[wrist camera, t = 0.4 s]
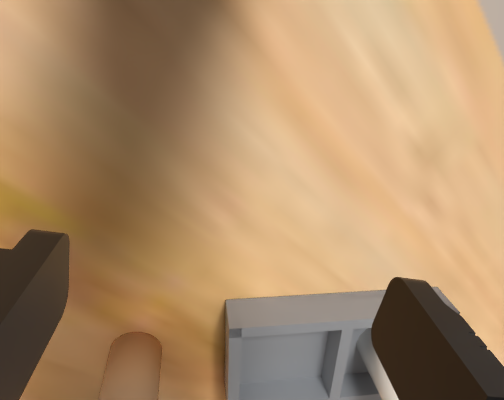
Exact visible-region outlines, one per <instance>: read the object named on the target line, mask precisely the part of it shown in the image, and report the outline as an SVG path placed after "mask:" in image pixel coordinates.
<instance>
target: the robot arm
mask: <svg viewBox="0 0 504 400" xmlns="http://www.w3.org/2000/svg"><path fill="white" fill-rule="evenodd" d="M68 285H69V236H68V235H67V234H64V233H56V232H48V231H41V230H33V229H32V230H30V231H28V232H27V233H26V235H25V236H24V237H23V238H22V239H21V240H20V241H19V242H18V244H17V245H16V246H15V247H14V248H13V249H12V250H10V249H1V248H0V400H19V399H20V397H21V395H22V393H23V391H24V389H25V387H26V385H27V383H28V381H29V379H30V377H31V375H32V373H33V372H34V370H35V368H36V366H37V364H38V362H39V360H40V358H41V356H42V354H43V352H44V350H45V348H46V346H47V344H48V342H49V340H50V338H51V337H52V335H53V333H54V331H55V329H56V327H57V325H58V323H59V321H60V319H61V317H62V315H63V312H64V309H65V306H66V302H67V297H68ZM371 340H372V345H373V348H374V350H375V352H376V354H377V356H378V358H379V360H380V362H381V364H382V366H383V368H384V370H385V372H386V374H387V376H388V378H389V381H390V383H391V385H392V387H393V389H394V391H395V393H396V395H397V397H398V399H399V400H504V366H503V365H502V364H501V363H500V362H499V360H498V359H497V358H496V357H495V356H494V354H493V353H492V352H491V351H490V350H487V346H486V345H485V344H484V343H483V341H482V340H481V339H480V338H479V337H478V336H475V332H474V331H473V329H472V328H471V327H470V326H469V325H468V323H467V322H466V321H465V320H464V319H463V318H462V316H460V315H459V314H458V313H456V312H455V311H454V310H453V309H451V308H450V307H449V306H447V305H446V304H445V303H444V302H443V301H442V299H441V298H440V297H439V296H438V295H437V293H436V292H435V291H434V290H433V288H432V287H431V286H430V285H429V284H428V283H427V282H426V281H423V280H416V279H408V278H400V277H395V278H393V279H392V280H391V281H390V283H389V285H388V287H387V290H386V292H385V295H384V297H383V299H382V302H381V304H380V307H379V309H378V311H377V314H376V316H375V318H374V321H373V324H372V328H371Z"/></svg>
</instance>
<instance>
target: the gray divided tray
mask: <svg viewBox="0 0 504 400" xmlns="http://www.w3.org/2000/svg"><path fill="white" fill-rule="evenodd" d="M432 288H433V290H434V291H435V292H436V293H437V295H438V296H439V297H440V298H441V299H442V301H443V302H444V303H445V304H446V305H447V306H449V307H450V308H451V309H453V310H454V311H455V312H456V313H458V314H460V312H459V311H458V310H457V309H456V308H455V306H454V305H453V304H452V303H451V302H450V301H449V300H448V299H447V297H446V296H445V295H444V294H443V293H442V292H441V291H440V290H439V288H438V287H432ZM385 292H386V290H378V291H362V292H345V293H329V294H312V295H296V296H279V297H263V298H246V299H230V300H226V317H225V394H226V400H382V399H381V396H380V394H379V392H378V390H377V388H376V386H375V384H374V382H373V380H372V378H371V376H370V374H369V372H368V370H367V368H366V366H365V364H364V362H363V360H362V358H361V356H360V353H359V351H358V349H357V340H358V338H359V336H360V335H361V334H362V332H363V331H365V330H366V329H367V328H372V324H373V321H374V318H375V316H376V314H377V311H378V309H379V307H380V304H381V302H382V299H383V297H384V295H385Z"/></svg>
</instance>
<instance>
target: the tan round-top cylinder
mask: <svg viewBox="0 0 504 400" xmlns="http://www.w3.org/2000/svg"><path fill="white" fill-rule="evenodd" d="M161 356H162V346H161V344H160V342H159V341H158V340H157V339H156V338H155V337H154V336H152V335H150V334H147V333H143V332H131V333H127V334H124V335H121V336H120V337H118V338H117V339H116V340H115V341H114V342H113V343H112V345H111V348H110V353H109V357H108V361H107V365H106V370H105V374H104V378H103V382H102V386H101V391H100V395H99V399H98V400H158V392H159V380H160V368H161Z"/></svg>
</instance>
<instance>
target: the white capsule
mask: <svg viewBox="0 0 504 400" xmlns="http://www.w3.org/2000/svg"><path fill="white" fill-rule="evenodd" d="M357 349H358V351H359V353H360V356H361V358H362V360H363V362H364V364H365V366H366V368H367V370H368V372H369V374H370V376H371V378H372V380H373V382H374V384H375V386H376V388H377V390H378V392H379V394H380V396H381V399H382V400H399V399H398V397H397V395H396V393H395V391H394V389H393V387H392V385H391V383H390V381H389V378H388V376H387V374H386V372H385V370H384V368H383V366H382V364H381V362H380V360H379V358H378V356H377V354H376V352H375V350H374V348H373V345H372V340H371V328H367V329H366V330H365V331H363V332H362V334H361V335H360V336H359V338H358V340H357Z"/></svg>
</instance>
